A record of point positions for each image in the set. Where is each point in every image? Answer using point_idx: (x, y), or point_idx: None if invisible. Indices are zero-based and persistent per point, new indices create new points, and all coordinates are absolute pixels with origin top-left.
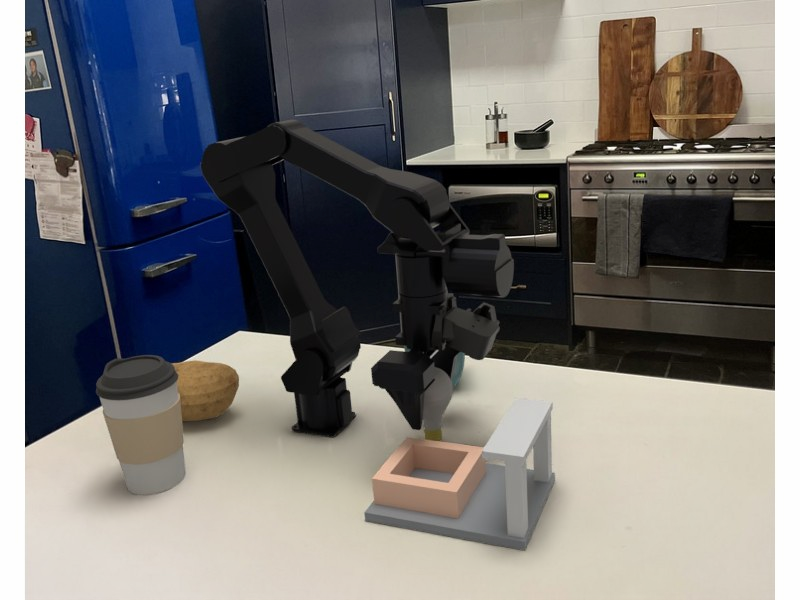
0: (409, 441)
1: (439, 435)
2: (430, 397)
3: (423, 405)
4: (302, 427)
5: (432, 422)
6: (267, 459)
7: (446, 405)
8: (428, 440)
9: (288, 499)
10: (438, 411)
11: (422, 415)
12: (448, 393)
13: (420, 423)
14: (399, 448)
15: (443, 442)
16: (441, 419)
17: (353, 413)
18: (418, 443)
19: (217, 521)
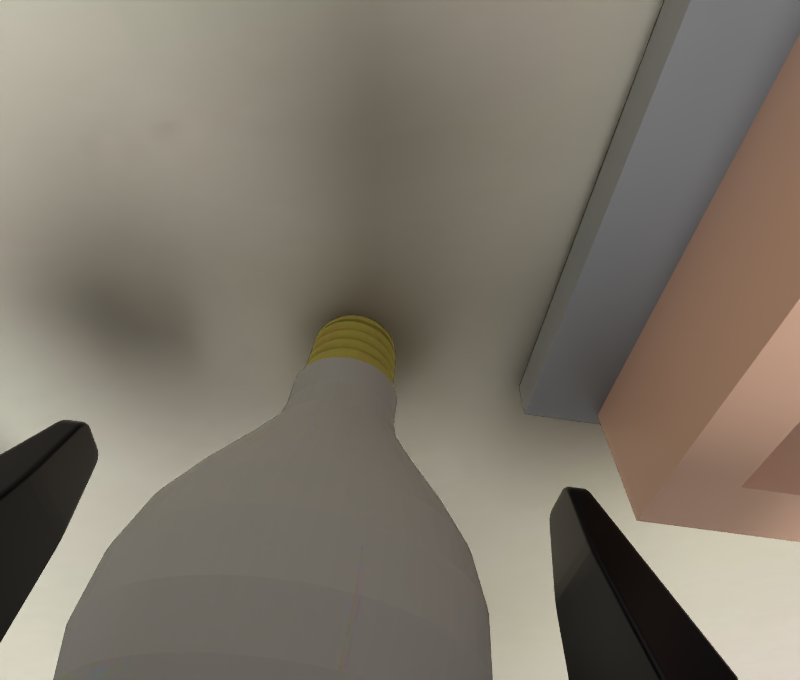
0: (701, 505)
1: (370, 339)
2: (488, 649)
3: (669, 674)
4: None
5: (391, 426)
6: (515, 661)
7: (362, 453)
8: (713, 429)
9: (735, 609)
10: (410, 466)
11: (620, 577)
12: (359, 555)
13: (622, 533)
14: (771, 529)
15: (775, 345)
16: (337, 388)
17: None
18: (741, 468)
19: (797, 676)
